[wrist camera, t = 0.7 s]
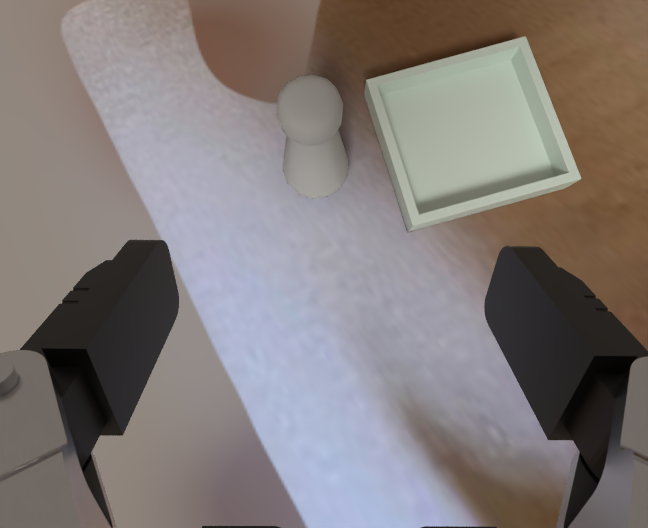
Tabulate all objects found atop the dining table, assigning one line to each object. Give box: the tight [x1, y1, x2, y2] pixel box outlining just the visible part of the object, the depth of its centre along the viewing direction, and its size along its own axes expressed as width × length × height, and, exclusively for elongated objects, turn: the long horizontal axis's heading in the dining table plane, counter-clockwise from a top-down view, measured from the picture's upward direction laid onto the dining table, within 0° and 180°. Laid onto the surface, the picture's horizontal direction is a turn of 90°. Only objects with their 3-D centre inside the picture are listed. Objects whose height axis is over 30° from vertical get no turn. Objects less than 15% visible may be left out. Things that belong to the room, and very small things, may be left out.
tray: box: [364, 36, 581, 232], centre depth 36 cm, size 15×14×2 cm
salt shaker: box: [277, 74, 349, 199], centre depth 31 cm, size 6×6×13 cm
